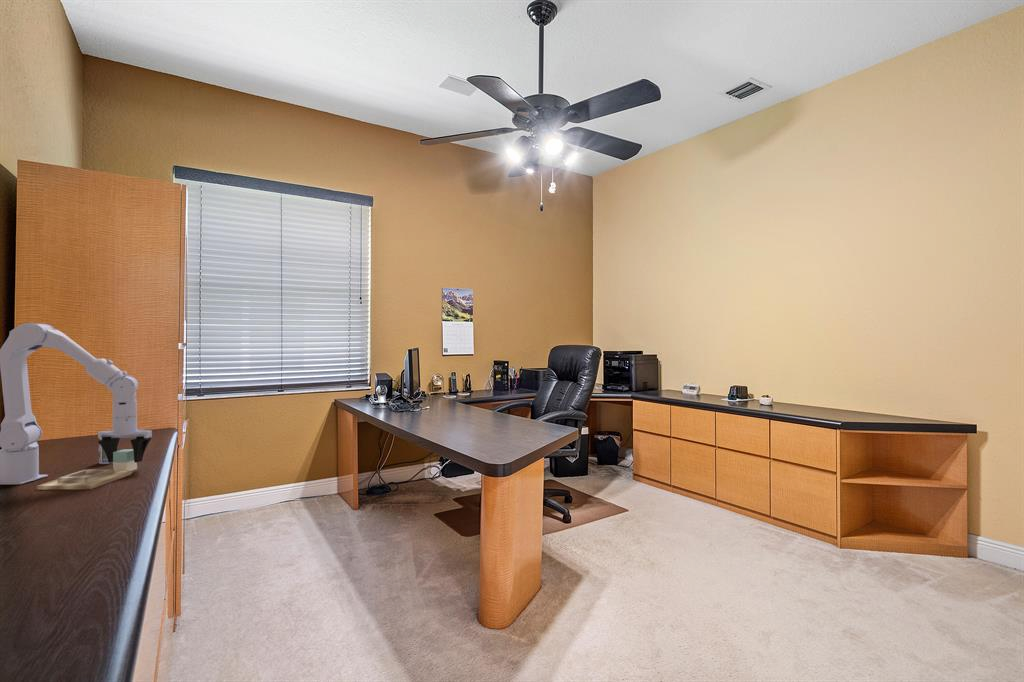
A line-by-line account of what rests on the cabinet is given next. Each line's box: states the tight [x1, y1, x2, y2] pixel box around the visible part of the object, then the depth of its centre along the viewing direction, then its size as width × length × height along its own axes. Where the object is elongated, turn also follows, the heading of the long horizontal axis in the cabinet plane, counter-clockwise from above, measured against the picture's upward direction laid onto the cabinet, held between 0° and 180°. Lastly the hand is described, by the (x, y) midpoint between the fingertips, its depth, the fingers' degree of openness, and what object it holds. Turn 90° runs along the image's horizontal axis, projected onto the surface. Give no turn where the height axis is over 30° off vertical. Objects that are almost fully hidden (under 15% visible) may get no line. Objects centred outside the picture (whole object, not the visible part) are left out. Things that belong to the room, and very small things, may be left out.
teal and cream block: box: [112, 448, 138, 472], centre depth 145 cm, size 4×4×6 cm
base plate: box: [36, 468, 133, 491], centre depth 134 cm, size 14×14×2 cm
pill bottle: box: [98, 438, 119, 465], centre depth 155 cm, size 5×5×8 cm
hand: (125, 461), depth 145 cm, fingers open, 7 cm apart
